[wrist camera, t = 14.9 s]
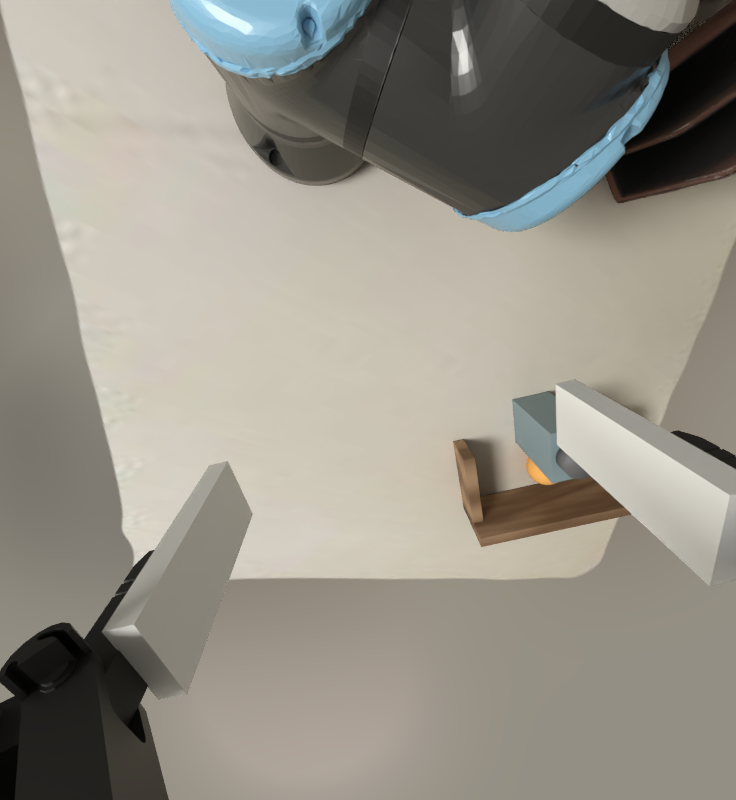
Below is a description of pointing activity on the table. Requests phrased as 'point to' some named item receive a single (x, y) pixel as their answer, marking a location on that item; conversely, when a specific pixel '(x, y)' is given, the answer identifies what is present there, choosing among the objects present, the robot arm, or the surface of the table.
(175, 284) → the table surface
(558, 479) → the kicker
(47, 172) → the table surface
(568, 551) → the table surface
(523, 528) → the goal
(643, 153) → the letter holder
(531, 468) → the ball
